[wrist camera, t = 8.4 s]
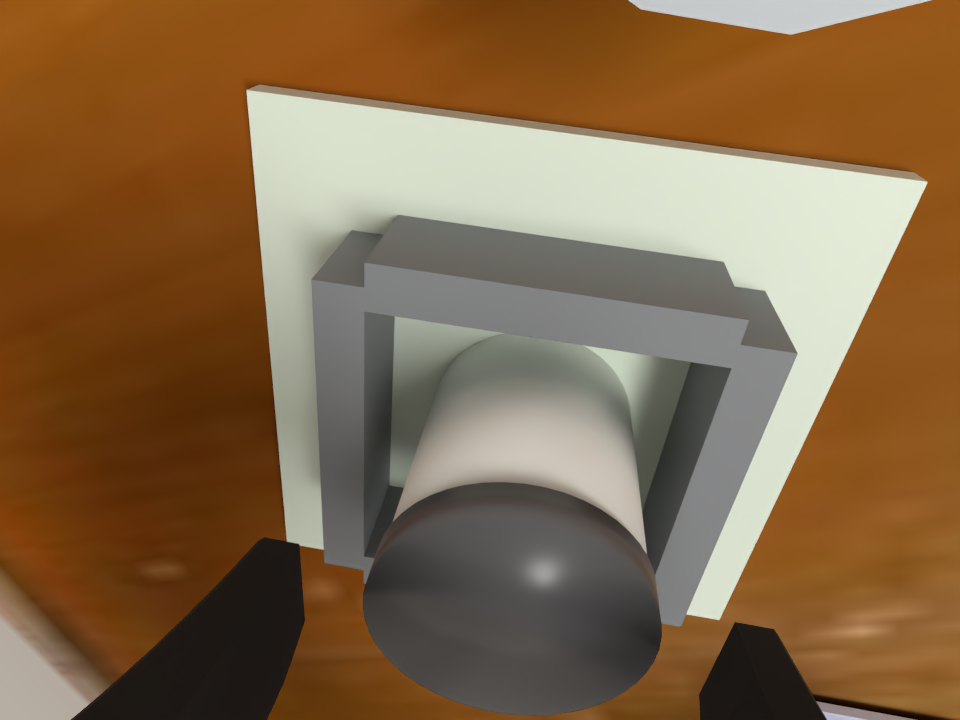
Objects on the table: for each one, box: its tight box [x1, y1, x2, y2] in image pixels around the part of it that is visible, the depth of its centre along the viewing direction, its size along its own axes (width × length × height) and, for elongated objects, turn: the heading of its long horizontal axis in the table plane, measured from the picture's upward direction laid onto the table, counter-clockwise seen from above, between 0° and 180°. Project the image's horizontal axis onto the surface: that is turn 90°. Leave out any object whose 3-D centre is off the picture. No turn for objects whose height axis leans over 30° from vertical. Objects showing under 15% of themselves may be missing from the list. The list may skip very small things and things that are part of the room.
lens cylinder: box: [363, 334, 662, 715], centre depth 14 cm, size 5×5×6 cm
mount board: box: [247, 85, 928, 627], centre depth 15 cm, size 13×13×3 cm
